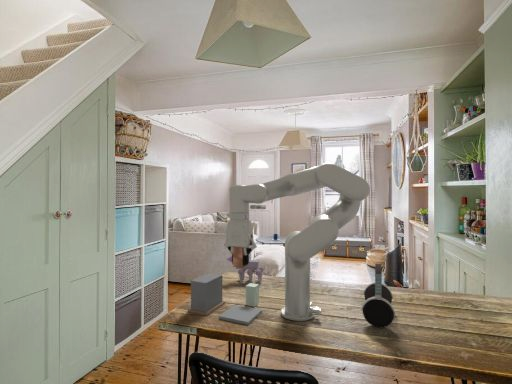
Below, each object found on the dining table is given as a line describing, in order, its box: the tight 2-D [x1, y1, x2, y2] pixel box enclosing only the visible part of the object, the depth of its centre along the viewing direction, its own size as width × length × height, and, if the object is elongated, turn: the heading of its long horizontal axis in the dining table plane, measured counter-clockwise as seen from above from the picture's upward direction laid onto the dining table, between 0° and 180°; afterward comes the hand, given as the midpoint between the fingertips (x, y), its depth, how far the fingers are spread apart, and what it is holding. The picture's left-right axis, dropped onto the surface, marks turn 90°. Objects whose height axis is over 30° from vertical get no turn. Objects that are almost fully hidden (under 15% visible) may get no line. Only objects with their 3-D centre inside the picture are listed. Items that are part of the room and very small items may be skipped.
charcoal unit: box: [187, 273, 226, 316], centre depth 120 cm, size 9×13×12 cm
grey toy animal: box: [226, 255, 265, 285], centre depth 156 cm, size 20×11×14 cm, turn 78°
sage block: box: [245, 282, 260, 308], centre depth 124 cm, size 4×4×8 cm
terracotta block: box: [232, 247, 247, 268], centre depth 115 cm, size 4×4×8 cm
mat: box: [218, 304, 263, 326], centre depth 112 cm, size 12×12×1 cm
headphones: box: [361, 262, 396, 328], centre depth 111 cm, size 11×20×20 cm, turn 158°
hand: (240, 263), depth 115 cm, fingers closed on terracotta block, 4 cm apart
